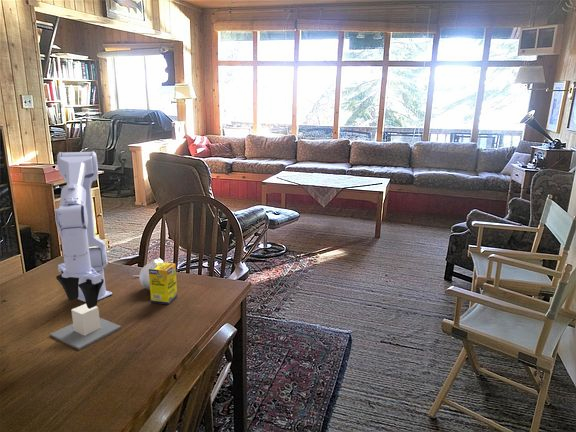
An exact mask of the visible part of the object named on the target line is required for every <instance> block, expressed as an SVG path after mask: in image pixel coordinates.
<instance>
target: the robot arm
mask: <svg viewBox="0 0 576 432" xmlns="http://www.w3.org/2000/svg"><path fill="white" fill-rule="evenodd" d="M97 155H98V154H97V153H96V152H95V151H94V150H93V151H77V152H76V151H73V152H71V151H68V152H66V151H65V152H62V151H59V152H58V153H57V157H56V160H57V161H56V162H57V169H58V172H59V175H61V178H62V179H63V181H65V182H66V185H64V186H63V187H62V189H61V191H60V192H61V193H60V200H59V207H58V208H56V209H55V213H54V215H55V216H54V219H55V224H56V227H57V228H56V229H57V231H58V236H59V238H60V239H61V248H62V254H63V263H60V264H57V270H58V272H59V273H60V274H58V275H56V277H55V278H56V280H57V281H58V282H59V283H60V285H61V286H62V289H64V292H65V294H66V297H67V299H68V301H69V302H72V301H75V300H79V301H81V302H84V303H85V304H86V305H87V307H88V308H89V309H90V308H93V307H95V306H96V307H98V306H97V305H98V301H100V300H102V299H105V298H106V297H109V296H111V295H113V292H111V291H109V290H107V289H106V288H107V287H106V280H105V271H104V268H106V267H107V266H108V252H107V247H106V242H105V241H104V240H103V239H101V238H99V237H97V236H96V235H95V226H94V225H95V223H94V212H93V211H94V210H93V200H92V190H91V189H92V184H93V182H95V181H97V180H98V179H99V178H98V177H99V163H98V157H97Z"/></svg>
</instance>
